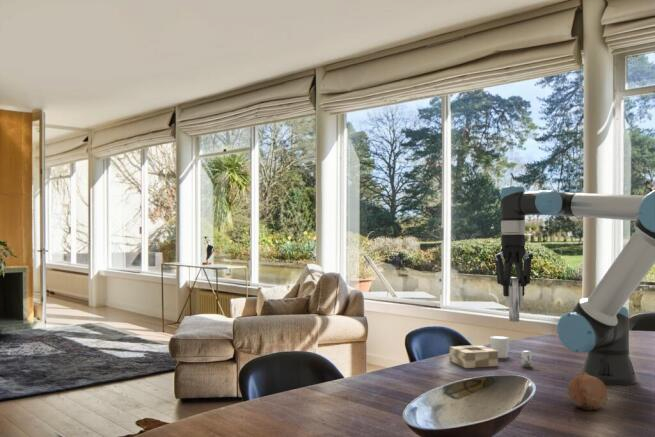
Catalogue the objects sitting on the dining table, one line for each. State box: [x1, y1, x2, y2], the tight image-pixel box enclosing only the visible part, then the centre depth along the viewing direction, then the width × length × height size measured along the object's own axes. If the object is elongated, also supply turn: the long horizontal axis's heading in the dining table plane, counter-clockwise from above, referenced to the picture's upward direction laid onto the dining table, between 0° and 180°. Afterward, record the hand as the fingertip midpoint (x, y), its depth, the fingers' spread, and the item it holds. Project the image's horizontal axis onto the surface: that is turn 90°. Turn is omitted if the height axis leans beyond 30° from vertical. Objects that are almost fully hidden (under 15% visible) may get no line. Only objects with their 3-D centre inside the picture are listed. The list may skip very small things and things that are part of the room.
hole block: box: [449, 344, 499, 369], centre depth 214 cm, size 12×12×5 cm
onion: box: [567, 371, 609, 412], centre depth 160 cm, size 10×9×10 cm
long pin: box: [508, 276, 520, 322], centre depth 200 cm, size 3×3×14 cm
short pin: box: [520, 350, 532, 368], centre depth 209 cm, size 3×3×5 cm
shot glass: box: [489, 335, 510, 359], centre depth 226 cm, size 7×7×7 cm
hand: (514, 306), depth 200 cm, fingers closed on long pin, 3 cm apart
